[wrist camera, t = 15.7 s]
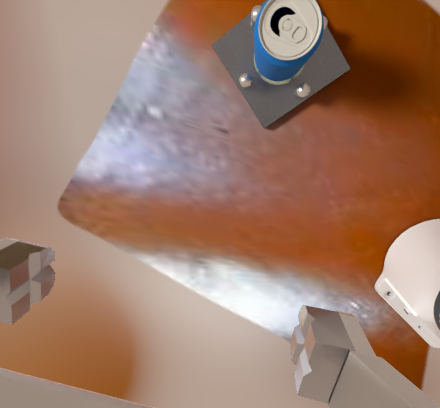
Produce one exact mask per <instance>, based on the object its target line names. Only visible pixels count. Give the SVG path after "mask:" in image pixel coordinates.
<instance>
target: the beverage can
mask: <svg viewBox="0 0 440 408" xmlns="http://www.w3.org/2000/svg"><path fill="white" fill-rule="evenodd" d="M323 30H324V20H323V15H322V11H321V9H320V7H319V5H318V3H317V2H316V1H315V0H268V1H267V2H266V3H265V4H264V5H263V7H262V8H261V10H260V11H259V13H258V16H257V18H256V21H255V26H254V56H255V63H256V66H257V69H258V70H259V72H260V73H261V74H262V75H263V76H264V77H265V78H267V79H269V80H272V81H285V80H287V79H290V78H291V77H293V76H294V75H295V74H297V73H298V71H299V70H300V69H301V68H302V67H303V65H304V64H305V63H306V62H307V61H308V60H309V58H310V57H311V56H312V55H313V54H314V52H315V51H316V50H317V48H318V46H319V44H320V42H321V39H322V36H323Z"/></svg>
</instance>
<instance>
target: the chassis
mask: <svg viewBox="0 0 440 408" xmlns="http://www.w3.org/2000/svg"><path fill="white" fill-rule="evenodd" d="M267 1H268V0H266V1H265V2H263V3H262V4H261V5H257V6H255V7H254V8H253V9H252V11H251V13H250V14H249V15H248V16H246V17H245V18H244V19H243V20H242V21H240V22H239V23H238V24H237V25H235V26H234V27H233V28H232V29H231V30H229V31H228V32H227V33H226V34H225V35H223V36H222V37H221V38H220V39H219V40H217V41H216V42H215V43H214V44H212V47H213V49H214V50H215V52H216V53H217V55H218V56H219V58H220V60H221V61H222V63H223V64H224V66H225V67H226V69H227V71H228V72H229V74H230V75H231V77H232V78H233V80H234V82H235V83H236V85H237V86H238V88H239V89H240V91H241V92H242V94H243V96H244V97H245V99H246V100H247V102H248V103H249V105H250V107H251V108H252V110H253V111H254V113H255V114H256V116H257V118H258V119H259V121H260V122H261V124H262V125H263V127H264V128H266V127H267V126H268V125H270V124H271V123H273V122H274V121H276V120H277V119H279V118H280V117H281V116H283V115H284V114H286V113H287V112H289V111H290V110H292V109H293V108H295V107H296V106H297V105H299V104H300V103H302V102H303V101H305V100H306V99H308V98H309V97H310V96H312V95H313V94H315V93H316V92H318V91H319V90H321V89H322V88H323V87H325V86H326V85H328V84H329V83H331V82H332V81H334V80H335V79H337V78H338V77H339V76H341V75H342V74H344V73H345V72H347V71H348V70H350V67H349V65H348V63H347V61H346V60H345V58H344V56H343V54H342V52H341V51H340V49H339V47H338V45H337V43H336V42H335V40H334V38H333V36H332V34H331V33H330V31H329V29H328V27H327V23H328V21H327V18H326V17H325V16H323V20H324V30H323V36H322V39H321V42H320V44H319V46H318V48H317V50H316V51H315V52H314V54H313V55H312V56H311V57H310V58H309V60H308V61H307V62H306V63H305V64H304V65H303V67H302V68H301V69H300V70H299V71H298V73H297V74H295V75H294V76H293V77H291V78H290V79H287V80H285V81H272V80H269V79H267V78H265V77H264V76H263V75H262V74H261V73H260V72H259V70H258V69H257V66H256V63H255V56H254V26H255V21H256V18H257V16H258V13H259V11H260V10H261V8H262V7H263V5H264V4H265V3H266V2H267Z"/></svg>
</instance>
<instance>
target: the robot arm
mask: <svg viewBox="0 0 440 408" xmlns="http://www.w3.org/2000/svg"><path fill="white" fill-rule="evenodd" d="M54 261H55V253H54V251H53V250H52V248H50V247H45V246H41V245H37V244H33V243H29V242H25V241H21V240H17V239H12V238H2V239H0V322H2V323H7V324H14V323H15V322H16V321H17V320H19V319H20V318H21V317H22V316H23V315H25V314H26V313H27V312H28V311H29V310H30V307H31V304H33V303H36V302H39V301H41V300H42V299H44V298H45V297H46V296H47V295H48V294H49V292H50V290H51V289H52V287H53V284H54V280H55V272H54V270H53V269H52V267H51V266H50V265H51V264H52V263H53V262H54ZM375 290H376V292H377V293H378V294H379V295H380V296H381V297H382V298H383V299H384V300H385V301H386V302H387V303H388V304H389V305H390V306H391V307H392V308H393V309H394V310H395V311H396V312H397V313H398V314H399V315H400V316H401V317H402V318H403V319H404V320H405V321H406V322H407V323H408V324H409V325H410V326H411V327H412V328H413V329H414V330H415V331H416V332H417V333H418V334H419V335H420V336H421V337H422V338H423V339H424V340H425V341H426V342H427V343H428V344H429V345H430V346H432V347H435V348H440V219H434V220H429V221H425V222H422V223H419V224H417V225H415V226H413V227H411V228H409V229H408V230H406V231H405V232H403V233H402V234H401V235H400V236H399V237H398V238H397V239H396V240H395V241H394V242H393V244H392V245H391V247H390V248H389V250H388V253H387V255H386V258H385V263H384V269H383V272H382V274H381V275H380V277H379V278H378V280H377V282H376V284H375ZM387 292H390V293H389V294H387ZM298 317H299V322H300V324H299V325H298V326H297V327H295V328H294V332H293V335H292V341H291V358H292V361H293V362H294V364H295V365H296V369H295V372H294V377H295V383H296V390H297V395H299V396H303V397H306V398H310V399H314V400H317V401H321V402H325V403H328V404H329V407H330V408H440V406H439V405H438V404H436V403H435V402H434V401H433V400H432V399H431V398H429V397H428V396H427V395H425V393H423V392H422V391H421V390H420V389H419V388H417V387H416V386H415V385H414V384H413V383H411V382H410V381H409V380H408V379H407V378H405V377H404V376H403V375H402V374H401V373H399V372H398V371H397V370H396V369H395V368H393V367H392V366H391V365H390V364H389V363H387V362H386V361H385V360H384V359H383V358H381V357H377V356H376V355H375V353H374V351H373V349H372V348H371V346H370V344H369V342H368V340H367V338H366V336H365V334H364V332H363V330H362V328H361V326H360V324H359V322H358V321H357V319H356V317H355V316H354V315H352V314H346V313H341V312H335V311H330V310H325V309H320V308H315V307H310V306H305V305H303V306H302V307H301V309H300V312H299V315H298ZM0 408H153V407H150V406H146V405H142V404H138V403H135V402H131V401H127V400H123V399H119V398H115V397H111V396H107V395H104V394H99V393H96V392H91V391H88V390H84V389H80V388H76V387H72V386H68V385H64V384H60V383H57V382H53V381H49V380H45V379H41V378H37V377H34V376H30V375H26V374H22V373H18V372H14V371H10V370H6V369H2V368H0Z"/></svg>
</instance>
